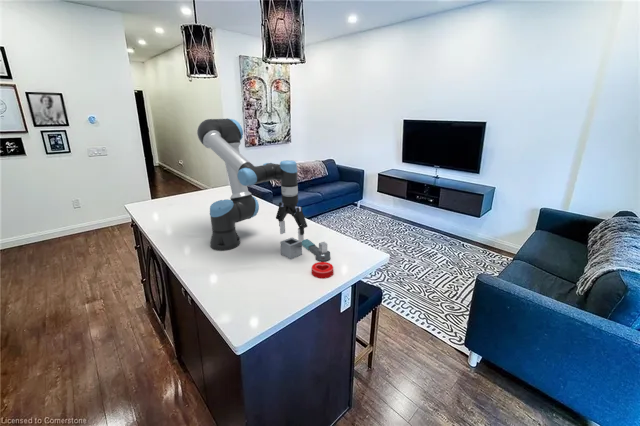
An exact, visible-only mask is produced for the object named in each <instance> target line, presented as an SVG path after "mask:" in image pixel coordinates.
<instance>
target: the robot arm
mask: <svg viewBox="0 0 640 426" xmlns="http://www.w3.org/2000/svg"><path fill="white" fill-rule="evenodd" d="M196 134H197V137H198V140H199V141H200V143H201V144H202V145H203V146H204V147H205V148H207V149H210V150H211V151H213V153H214V154H216V155H217V156H218V157H219V158H220V159H221V160H222V161H223V162H224V164H225V168H226V173H227V177H228V182H229V185H230V190H231V193H232V194H231V196H230V197H229V199H220V200H217V201H214V202H212V203H211V204H210V207H209V216H210V224H211V231H212V232H211V233H212V234H211V237H210V241H209V243H210V244H209V245H210V248H211V249H212V250H215V251H228V250H233V249H235V248H237V247H239V246H240V245H241V239H240V236H239V234H238V232H237V230H236V224H237V223H240V222H243V221H245V220H250V219H252V218H254V217H256V216H257V215H258V213H259V210H260V204H259V201H258V199H257V197H255V196H253V194H252V192H250V191H249V189H248V186H253V185H257V184H262V183H266V182H270V181H271V182H272V181H280V186H281V202H278V203H279V204H278V209H277V213H276V216H275V220H277V221H278V226H279V233H280V234H279V235H283V234H286V222H285V218H286V216H287V215H288V214H289V215H290V216H291V217H293V219H294V221H295V223H296V225H297V226H298V228H297V240H298V241H299V242H300V241H303V240H305V237H304V235H305V228H308V223H307V220H306V218H305V215H304V213H303V207H302V206H298V203H299V195H298V194H299V188H298V187H299V186H298V166H297V164H298V163H297V162H296V161H295V160H281V161H280V162H279V163H272V162H265V163H263V164H262V165H256V166H255V165H254V164H253V163H252V162H250V161H249V160H248V159H247V158H246V157H245V156H243V155H242V154H241V153H240V152H241V151H240V148H239V147H240V145H241V141H242V140H243V136H244V131H243V127H242V125H241V123H240V122H239V121H237V119H233V118H208V119H205V120H203V121H202V122H200V123H199V125H198V128H197V133H196Z"/></svg>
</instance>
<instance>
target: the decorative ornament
mask: <svg viewBox="0 0 640 426" xmlns="http://www.w3.org/2000/svg"><path fill="white" fill-rule="evenodd" d="M311 275H312V276H313V277H314V278H317V279H329V278H331V277H332V276H333V275H334V266H333V264H332V263H330V262H328V261H327V262H319V261H317V262H315V263H313V264H312V265H311Z"/></svg>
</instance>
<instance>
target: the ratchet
mask: <svg viewBox="0 0 640 426" xmlns="http://www.w3.org/2000/svg"><path fill="white" fill-rule="evenodd" d="M301 242H302V248H305V249H306V250H307V251H309V252H311V254H313V255H314V257H315V260H316V261H317V262H327V263H328V262H329V261H330V260H331V252H330V250H328V243H327V242H325V241H321V242H318V246H316V244H315V243H314V242H313V241H311V240H309V238H304V240H303V241H301Z"/></svg>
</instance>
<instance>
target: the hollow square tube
mask: <svg viewBox="0 0 640 426" xmlns="http://www.w3.org/2000/svg"><path fill="white" fill-rule="evenodd" d="M279 243H280V255H281V256H283V257H285V258H287V259H289V260H293V259H295V258H297V257H300V256H302V255H303V246H302V242H301V241H300V242H299V241H298V238H294V237H290V238H287V239H284V240H281V241H280V242H279Z"/></svg>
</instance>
